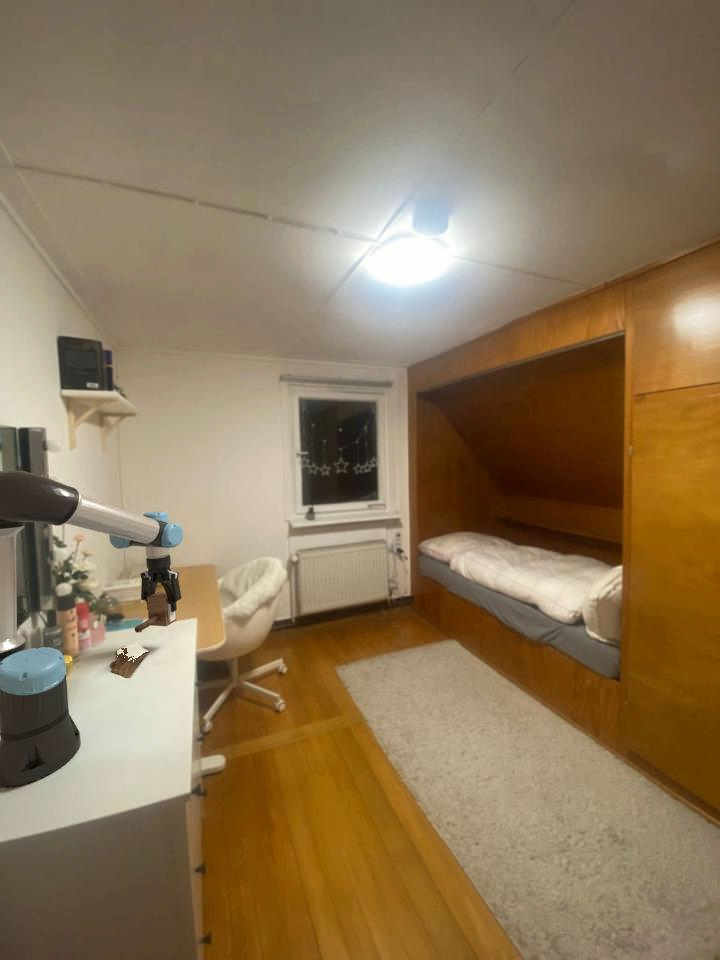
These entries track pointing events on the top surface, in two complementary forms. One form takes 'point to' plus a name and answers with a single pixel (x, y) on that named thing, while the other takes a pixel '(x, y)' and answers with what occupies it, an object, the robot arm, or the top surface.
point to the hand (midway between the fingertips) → (162, 619)
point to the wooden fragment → (126, 664)
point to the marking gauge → (156, 611)
